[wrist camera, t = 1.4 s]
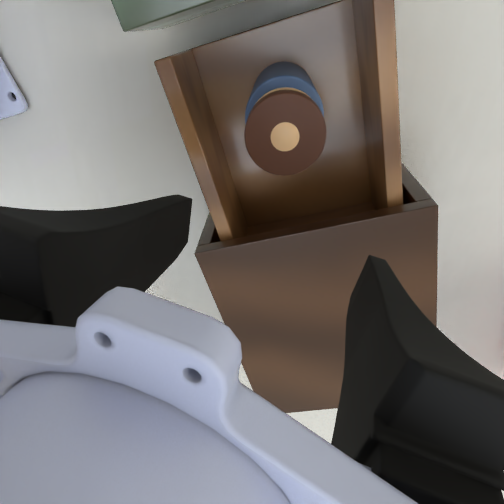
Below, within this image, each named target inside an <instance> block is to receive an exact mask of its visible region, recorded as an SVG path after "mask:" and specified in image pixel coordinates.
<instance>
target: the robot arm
mask: <svg viewBox="0 0 504 504" xmlns="http://www.w3.org/2000/svg"><path fill="white" fill-rule="evenodd" d="M12 93H14V95H15V96H16V100H15V99H14V98H13V97H12ZM27 109H28V104H27V102H26V100H25V98H24V96H23V95H22V93H21V91H20V90H19V88H18V86H17V84H16V83H15V81H14V79H13V77H12V76H11V74H10V72H9V70H8V69H7V67H6V65H5V63H4V62H3V60H2V58H1V57H0V120H1V119H4V118H7V117H10V116H13V115H17V114H20V113H23V112H25V111H27ZM191 206H192V199H191V198H187V197H184V196H181V195H171V196H166V197H161V198H157V199H152V200H148V201H143V202H139V203H134V204H128V205H123V206H117V207H111V208H104V209H93V210H72V211H48V210H30V209H19V208H11V207H2V206H0V504H504V499H503V495H502V492H501V490H503V491H504V471H503V470H504V380H503V379H501V378H500V377H498V376H497V375H495V374H493V373H492V372H490V371H489V370H487V369H486V368H485V367H483V366H482V365H481V364H479V363H478V362H477V361H475V360H474V359H472V358H471V357H470V356H468V355H467V354H466V353H465V352H463V351H462V350H461V349H460V348H459V347H457V346H456V345H455V344H454V343H453V342H452V341H451V340H449V339H448V338H447V337H446V336H445V335H444V334H443V333H442V332H441V331H440V330H439V329H438V328H437V327H436V326H435V325H434V324H433V323H432V322H431V321H430V320H429V319H428V318H427V317H426V316H425V315H424V314H423V312H422V311H421V310H420V309H419V308H418V306H417V305H416V304H415V302H414V301H413V300H412V299H411V297H410V296H409V295H408V293H407V292H406V290H405V289H404V287H403V286H402V284H401V283H400V281H399V280H398V278H397V277H396V275H395V274H394V272H393V270H392V269H391V267H390V266H389V264H388V263H387V261H386V260H385V259H381V258H378V257H375V256H372V255H369V256H368V258H367V260H366V262H365V265H364V267H363V269H362V271H361V274H360V276H359V278H358V280H357V283H356V285H355V287H354V289H353V292H352V294H351V296H350V301H349V306H348V311H347V317H346V335H345V360H344V374H343V381H342V387H341V394H340V400H339V405H338V411H337V417H336V422H335V427H334V433H333V438H332V443H331V444H330V443H329V442H327V441H326V440H324V439H323V438H321V437H320V436H318V435H317V434H315V433H314V432H312V431H311V430H309V429H308V428H307V427H305V426H304V425H302V424H301V423H299V422H298V421H296V420H295V419H293V418H292V417H290V416H289V415H287V414H286V413H285V412H283V411H282V410H280V409H279V408H277V407H276V406H274V405H273V404H271V403H270V402H268V401H267V400H265V399H264V398H262V397H261V396H260V395H258V394H257V393H255V392H254V391H252V390H251V389H249V388H248V387H246V386H245V385H243V384H242V383H241V382H240V381H239V378H238V375H239V368H240V364H241V360H242V351H241V342H240V341H239V340H238V338H237V337H236V336H235V334H234V333H233V332H232V330H231V329H230V328H229V327H228V326H226V325H225V324H223V323H221V322H220V321H218V320H216V319H215V318H213V317H210V316H208V315H205V314H202V313H200V312H197V311H194V310H191V309H189V308H186V307H183V306H181V305H178V304H175V303H172V302H170V301H167V300H164V299H161V298H159V297H156V296H153V295H151V294H148V293H145V291H146V290H147V289H148V288H149V287H150V286H151V285H152V284H153V283H154V282H155V281H156V280H157V279H158V277H159V276H160V275H161V274H162V273H163V272H164V271H165V270H166V269H167V268H168V267H169V266H170V265H171V264H172V263H173V262H174V261H175V259H176V258H177V257H178V256H179V254H180V253H181V251H182V250H183V248H184V247H185V245H186V244H187V242H188V235H189V225H190V216H191Z"/></svg>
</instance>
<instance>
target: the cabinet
mask: <svg viewBox="0 0 504 504" xmlns="http://www.w3.org/2000/svg"><path fill="white" fill-rule="evenodd" d="M401 167H402V190H403V205H398V206H394V207H389V208H384V209H379V210H374V211H369V212H364V213H359V214H354V215H349V216H344V217H339V218H334V219H329V220H324V221H319V222H314V223H310V224H305V225H300V226H295V227H290V228H285V229H280V230H275V231H270V232H265V233H260V234H255V235H250V236H245V237H240V238H235V239H230V240H226V241H220V238H219V235H218V233H217V230H216V227H215V225H214V222H213V219H212V217H211V214H210V212H209V215H208V218H207V220H206V223H205V226H204V229H203V232H202V234H201V237H200V240H199V243H198V246H197V248H196V251H195V256H196V258H197V261H198V263H199V265H200V268H201V270H202V272H203V275H204V277H205V279H206V282H207V284H208V286H209V289H210V291H211V293H212V296H213V298H214V300H215V303H216V305H217V307H218V310H219V312H220V314H221V316H222V319H223V321H224V323H225V325H226V326H228V327H229V328H230V329H231V330H232V332H233V333H234V334H235V336H236V337H237V338H238V340H239V341H240V342H241V351H242V360H241V363H242V365H243V368H244V370H245V372H246V375H247V377H248V379H249V382H250V384H251V386H252V389H253V391H254V392H255V393H257V394H258V395H260V396H261V397H262V398H264V399H265V400H267V401H268V402H270V403H271V404H273V405H274V406H276V407H277V408H279V409H280V410H282V411H283V412H285V413H291V412H302V411H312V410H322V409H333V408H338V405H339V400H340V394H341V387H342V381H343V374H344V360H345V335H346V317H347V311H348V306H349V301H350V296H351V294H352V292H353V289H354V287H355V285H356V283H357V280H358V278H359V276H360V274H361V271H362V269H363V267H364V265H365V262H366V260H367V258H368V256H369V255H372V256H375V257H378V258H381V259H385V260H386V261H387V263H388V264H389V266H390V267H391V269H392V270H393V272H394V274H395V275H396V277H397V278H398V280H399V281H400V283H401V284H402V286H403V287H404V289H405V290H406V292H407V293H408V295H409V296H410V297H411V299H412V300H413V301H414V302H415V304H416V305H417V306H418V308H419V309H420V310H421V311H422V312H423V314H424V315H425V316H426V317H427V318H428V319H429V320H430V321H431V322H432V323H433V324H434V325H435V326H436V313H437V245H438V205H437V204H436V202H435V201H434V200H433V199H432V198H431V197H430V195H429V194H428V193H427V192H426V191H425V190H424V188H423V187H422V186H421V185H420V184H419V182H418V181H417V180H416V179H415V178H414V177H413V175H412V174H411V173H410V172H409V171H408V170H407V168H406V167H405V166H404V165H403V164H402V163H401Z"/></svg>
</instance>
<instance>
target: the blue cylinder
mask: <svg viewBox="0 0 504 504" xmlns="http://www.w3.org/2000/svg"><path fill="white" fill-rule="evenodd" d="M326 133H327V131H326V124H325V120H324V109H323V104H322V101H321V98H320V96H319V94H318V92H317V90H316V88H315V87H314V85H313V83H312V81H311V79H310V77H309V75H308V74H307V72H306V71H305V70H304V69H303V68H301V67H300V66H298V65H297V64H294V63H291V62H277V63H274V64H272V65H270V66H268V67H267V68H265V69H264V70H263V71H262V72H261V73H260V75H259V76H258V78H257V79H256V82H255V84H254V87H253V89H252V92H251V95H250V97H249V100H248V103H247V106H246V111H245V130H244V140H245V146H246V149H247V152H248V154H249V156H250V157H251V159H252V160H253V161H254V163H255V164H256V165H257V166H259V167H260V168H261V169H263V170H264V171H266V172H268V173H271V174H275V175H281V176H287V175H294V174H297V173H300V172H302V171H304V170H306V169H307V168H309V167H310V166H311V165H312V164H313V163H314V162H315V161H316V160H317V159H318V158H319V156H320V154H321V153H322V151H323V148H324V145H325V142H326Z"/></svg>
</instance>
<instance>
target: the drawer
mask: <svg viewBox="0 0 504 504" xmlns="http://www.w3.org/2000/svg"><path fill="white" fill-rule="evenodd" d="M111 1H112V4H113V6H114V9H115V11H116V14H117V16H118V19H119V21H120V24H121V26H122V29H123V31H124V32H129V31H141V30H153V29H164V28H166V27H169V26H172V25H175V24H178V23H181V22H184V21H187V20H190V19H193V18H196V17H199V16H202V15H205V14H208V13H211V12H214V11H216V10H219V9H222V8H225V7H228V6H231V5H234V4H237V3H240V2H243V1H246V0H111ZM277 62H291V63H294V64H297V65H298V66H300V67H301V68H303V69H304V70H305V71H306V72H307V74H308V75H309V77H310V79H311V81H312V83H313V85H314V87H315V88H316V90H317V92H318V94H319V96H320V98H321V101H322V104H323V109H324V120H325V124H326V131H327V133H326V142H325V145H324V148H323V151H322V153H321V154H320V156H319V158H318V159H317V160H316V161H315V162H314V163H313V164H312V165H311V166H310V167H309V168H307V169H306V170H304V171H302V172H300V173H297V174H294V175H287V176H281V175H275V174H271V173H268V172H266V171H264V170H263V169H261V168H260V167H259V166H257V165H256V164H255V163H254V161H253V160H252V159H251V157H250V156H249V154H248V152H247V149H246V146H245V140H244V130H245V111H246V106H247V103H248V100H249V97H250V95H251V92H252V89H253V87H254V84H255V82H256V79H257V78H258V76H259V75H260V73H261V72H262V71H263V70H264V69H265V68H267V67H268V66H270V65H272V64H274V63H277ZM154 64H155V66H156V69H157V72H158V75H159V77H160V80H161V83H162V85H163V88H164V91H165V93H166V96H167V99H168V101H169V104H170V107H171V109H172V112H173V115H174V117H175V120H176V123H177V125H178V128H179V131H180V134H181V136H182V139H183V142H184V144H185V147H186V150H187V152H188V155H189V158H190V160H191V163H192V166H193V168H194V171H195V174H196V176H197V179H198V182H199V184H200V187H201V190H202V193H203V195H204V198H205V201H206V203H207V206H208V209H209V211H210V214H211V217H212V219H213V222H214V225H215V227H216V230H217V233H218V235H219V238H220V241H226V240H230V239H235V238H240V237H245V236H250V235H255V234H260V233H265V232H270V231H275V230H280V229H285V228H290V227H295V226H300V225H305V224H310V223H314V222H319V221H324V220H329V219H334V218H339V217H344V216H349V215H354V214H359V213H364V212H369V211H374V210H379V209H384V208H389V207H394V206H398V205H403V190H402V167H401V144H400V121H399V99H398V76H397V53H396V31H395V8H394V0H341V1H338V2H335V3H332V4H329V5H325V6H322V7H319V8H316V9H313V10H310V11H307V12H304V13H301V14H298V15H294V16H291V17H288V18H285V19H282V20H279V21H276V22H273V23H270V24H266V25H263V26H260V27H257V28H254V29H251V30H248V31H245V32H242V33H239V34H235V35H232V36H229V37H226V38H223V39H220V40H217V41H214V42H211V43H208V44H204V45H201V46H198V47H195V48H192V49H189V50H186V51H183V52H180V53H177V54H174V55H171V56H168V57H165V58H162V59H159V60H156V61H155V62H154Z"/></svg>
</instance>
